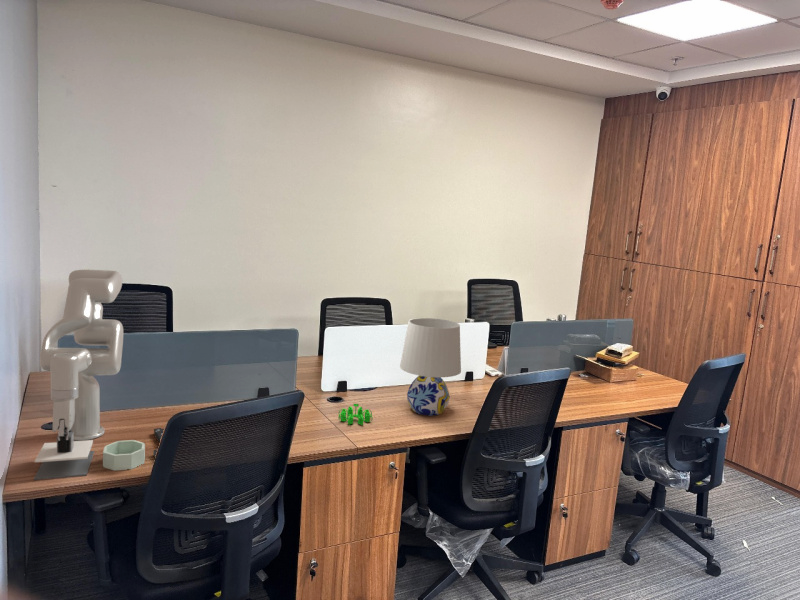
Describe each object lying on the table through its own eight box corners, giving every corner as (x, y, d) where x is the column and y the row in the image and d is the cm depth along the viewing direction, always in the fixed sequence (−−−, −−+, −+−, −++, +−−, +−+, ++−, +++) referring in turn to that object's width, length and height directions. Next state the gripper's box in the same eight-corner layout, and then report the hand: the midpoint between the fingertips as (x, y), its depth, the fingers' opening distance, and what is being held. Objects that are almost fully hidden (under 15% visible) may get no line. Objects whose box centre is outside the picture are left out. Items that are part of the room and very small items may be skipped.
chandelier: (378, 417, 250) (379, 402, 249) (365, 429, 236) (366, 413, 235) (345, 412, 254) (346, 396, 253) (331, 423, 240) (332, 407, 239)
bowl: (106, 456, 195) (106, 441, 195) (145, 453, 200) (145, 439, 199) (101, 471, 184) (101, 456, 184) (143, 468, 189) (143, 453, 188)
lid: (44, 444, 190) (44, 428, 189) (93, 441, 195) (93, 425, 194) (34, 462, 177) (34, 444, 176) (87, 458, 182) (86, 441, 181)
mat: (46, 455, 193) (46, 454, 193) (94, 452, 198) (94, 450, 198) (34, 480, 176) (34, 478, 176) (86, 475, 181) (86, 474, 181)
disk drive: (153, 435, 216) (163, 450, 204) (153, 428, 216) (163, 442, 204) (182, 431, 222) (193, 445, 210) (182, 424, 222) (193, 437, 210)
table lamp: (412, 396, 281) (418, 314, 275) (465, 408, 270) (473, 323, 264) (386, 412, 257) (392, 322, 251) (444, 425, 246) (451, 332, 240)
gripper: (56, 385, 190) (56, 439, 192) (45, 401, 174) (46, 460, 177) (82, 384, 192) (82, 438, 195) (73, 400, 177) (74, 458, 179)
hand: (65, 448), depth 186 cm, fingers closed on lid, 4 cm apart
